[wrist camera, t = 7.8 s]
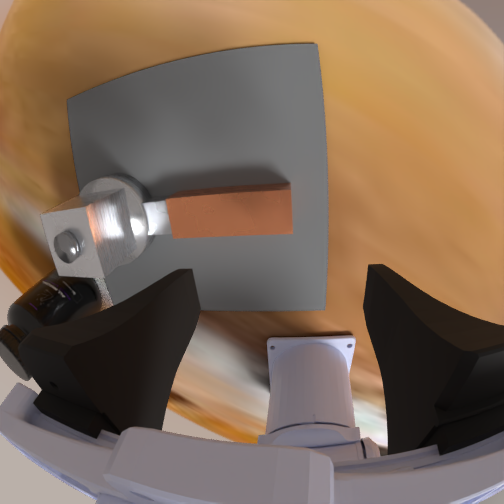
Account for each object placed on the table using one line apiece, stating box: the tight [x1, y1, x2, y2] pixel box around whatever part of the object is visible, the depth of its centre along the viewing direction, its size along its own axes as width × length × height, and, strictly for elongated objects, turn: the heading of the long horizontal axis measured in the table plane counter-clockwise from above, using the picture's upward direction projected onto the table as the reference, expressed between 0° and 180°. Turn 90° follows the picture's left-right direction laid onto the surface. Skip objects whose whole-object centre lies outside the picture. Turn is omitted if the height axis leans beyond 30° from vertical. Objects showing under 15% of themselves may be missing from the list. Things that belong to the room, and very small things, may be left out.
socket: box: [40, 188, 137, 278], centre depth 17 cm, size 5×5×5 cm
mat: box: [67, 44, 328, 311], centre depth 20 cm, size 20×20×1 cm
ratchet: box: [79, 173, 293, 265], centre depth 18 cm, size 7×17×4 cm, turn 95°
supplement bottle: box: [0, 268, 102, 381], centre depth 20 cm, size 7×7×12 cm
